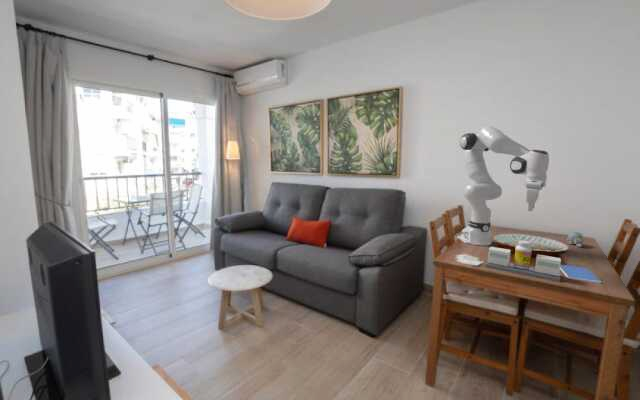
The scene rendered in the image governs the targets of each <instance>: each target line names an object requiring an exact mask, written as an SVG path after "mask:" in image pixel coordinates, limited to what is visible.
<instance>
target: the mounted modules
mask: <svg viewBox="0 0 640 400" xmlns="http://www.w3.org/2000/svg"><path fill="white" fill-rule="evenodd" d="M511 251H512V250H511V249H508V248H502V247H495V246H490V247H489V248H488V254H487V261H488V263H493V264H498V265H503V266H508V265H509V263H511V262H510V260H511ZM561 262H562V259H561V258H560V257H555V256H549V255H544V254H539V253H538V254H536V257H535V266H534V267H535V272H539V273H544V274H549V275H555V276H559V272H560V271H561V270H560V265H561V264H562V263H561Z"/></svg>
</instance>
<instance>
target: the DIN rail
mask: <svg viewBox="0 0 640 400" xmlns="http://www.w3.org/2000/svg"><path fill="white" fill-rule="evenodd" d="M486 263H488V260H487V261H486ZM492 264H493V263H492ZM497 265H498V264H497ZM508 267H513V268H517V267H515V266H514V264H509V265H508ZM518 269H521V268H518ZM523 270H528V271H533V272H535V268H529V269H523ZM538 273H539V272H538ZM543 274H544V273H543ZM548 275H549V274H548ZM554 276H555V275H554ZM559 277H560V278H561V272H560V273H559Z"/></svg>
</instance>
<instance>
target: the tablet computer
mask: <svg viewBox="0 0 640 400" xmlns="http://www.w3.org/2000/svg"><path fill="white" fill-rule="evenodd" d="M560 271H561V272H562V273H563V274H564V275H565V276H566V278H568V279H570V280H577V281H585V282H591V283H597V284H602V283H603V281H602V280H601V279H599V277H598V276H597V275H595V274H594V273H593V272H592V271H590V270H589V268H587V267H580V266H572V265H567V264H566V265H564V264H560Z"/></svg>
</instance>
